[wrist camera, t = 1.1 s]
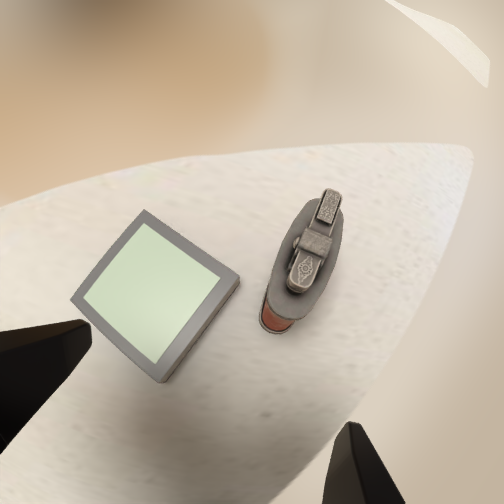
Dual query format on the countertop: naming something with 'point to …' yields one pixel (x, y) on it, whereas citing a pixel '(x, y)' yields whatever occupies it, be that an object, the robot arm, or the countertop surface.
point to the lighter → (303, 263)
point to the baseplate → (154, 295)
